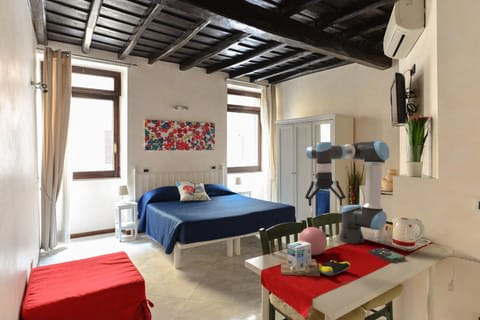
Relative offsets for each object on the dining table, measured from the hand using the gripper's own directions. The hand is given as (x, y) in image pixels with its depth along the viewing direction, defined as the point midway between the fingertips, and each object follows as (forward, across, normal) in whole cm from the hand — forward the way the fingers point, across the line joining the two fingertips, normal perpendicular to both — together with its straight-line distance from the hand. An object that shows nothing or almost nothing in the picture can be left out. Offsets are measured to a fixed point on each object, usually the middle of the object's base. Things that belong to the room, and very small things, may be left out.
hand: (325, 212), depth 145 cm
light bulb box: (+25, -14, -9) cm, 30 cm away
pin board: (+26, -15, -9) cm, 31 cm away
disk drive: (+28, +34, +12) cm, 46 cm away
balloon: (+27, -4, +12) cm, 30 cm away
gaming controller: (+27, +1, -14) cm, 30 cm away
